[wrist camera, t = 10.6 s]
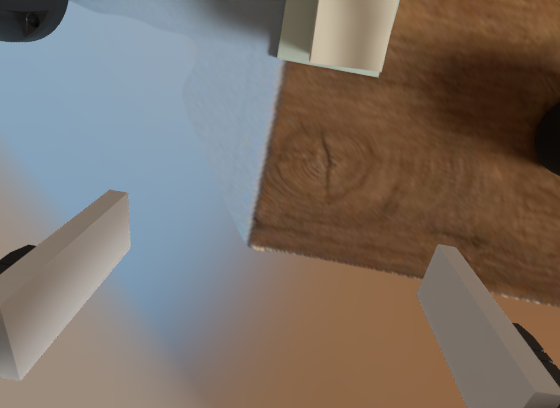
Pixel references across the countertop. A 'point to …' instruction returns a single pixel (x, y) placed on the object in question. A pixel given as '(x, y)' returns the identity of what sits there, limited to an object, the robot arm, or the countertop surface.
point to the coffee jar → (549, 141)
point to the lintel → (352, 33)
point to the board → (304, 35)
